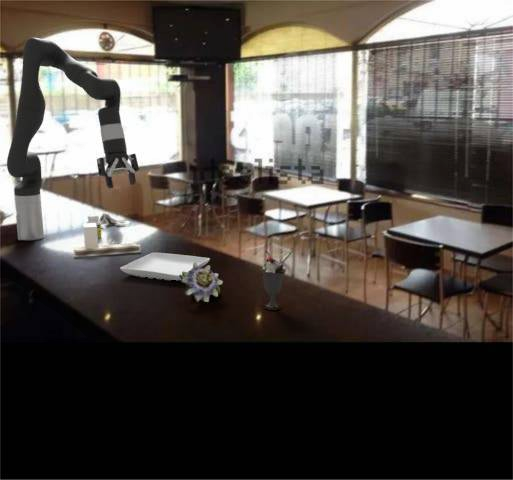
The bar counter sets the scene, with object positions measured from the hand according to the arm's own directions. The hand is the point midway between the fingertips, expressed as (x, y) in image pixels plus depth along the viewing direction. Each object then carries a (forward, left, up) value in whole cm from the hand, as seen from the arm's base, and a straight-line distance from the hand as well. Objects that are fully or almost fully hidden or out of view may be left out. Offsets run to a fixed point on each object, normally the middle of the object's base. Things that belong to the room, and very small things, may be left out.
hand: (121, 186), depth 195 cm
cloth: (-2, +54, -25) cm, 59 cm away
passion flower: (+14, -55, -24) cm, 61 cm away
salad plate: (+10, -27, -24) cm, 37 cm away
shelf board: (-6, +3, -24) cm, 25 cm away
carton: (-11, +4, -23) cm, 26 cm away
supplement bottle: (-9, +23, -24) cm, 35 cm away
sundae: (+30, -68, -24) cm, 78 cm away
